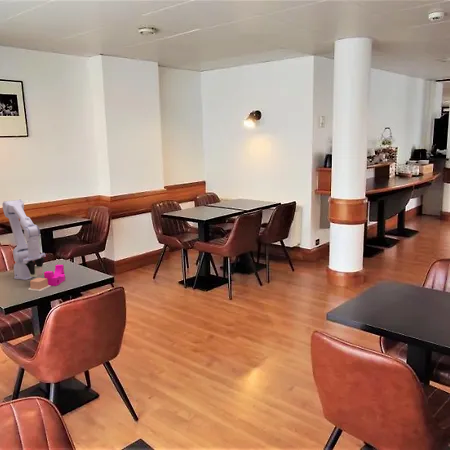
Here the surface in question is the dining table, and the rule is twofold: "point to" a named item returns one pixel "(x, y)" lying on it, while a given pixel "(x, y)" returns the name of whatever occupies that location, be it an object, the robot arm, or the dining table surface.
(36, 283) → the terracotta brick
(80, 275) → the dining table surface
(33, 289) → the baseplate
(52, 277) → the toy block
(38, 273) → the sage brick
